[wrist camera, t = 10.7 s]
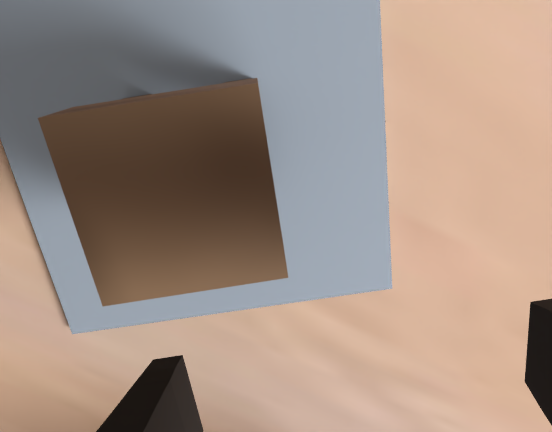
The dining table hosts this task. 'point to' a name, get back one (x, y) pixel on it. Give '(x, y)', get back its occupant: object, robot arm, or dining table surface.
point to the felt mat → (202, 72)
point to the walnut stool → (170, 190)
